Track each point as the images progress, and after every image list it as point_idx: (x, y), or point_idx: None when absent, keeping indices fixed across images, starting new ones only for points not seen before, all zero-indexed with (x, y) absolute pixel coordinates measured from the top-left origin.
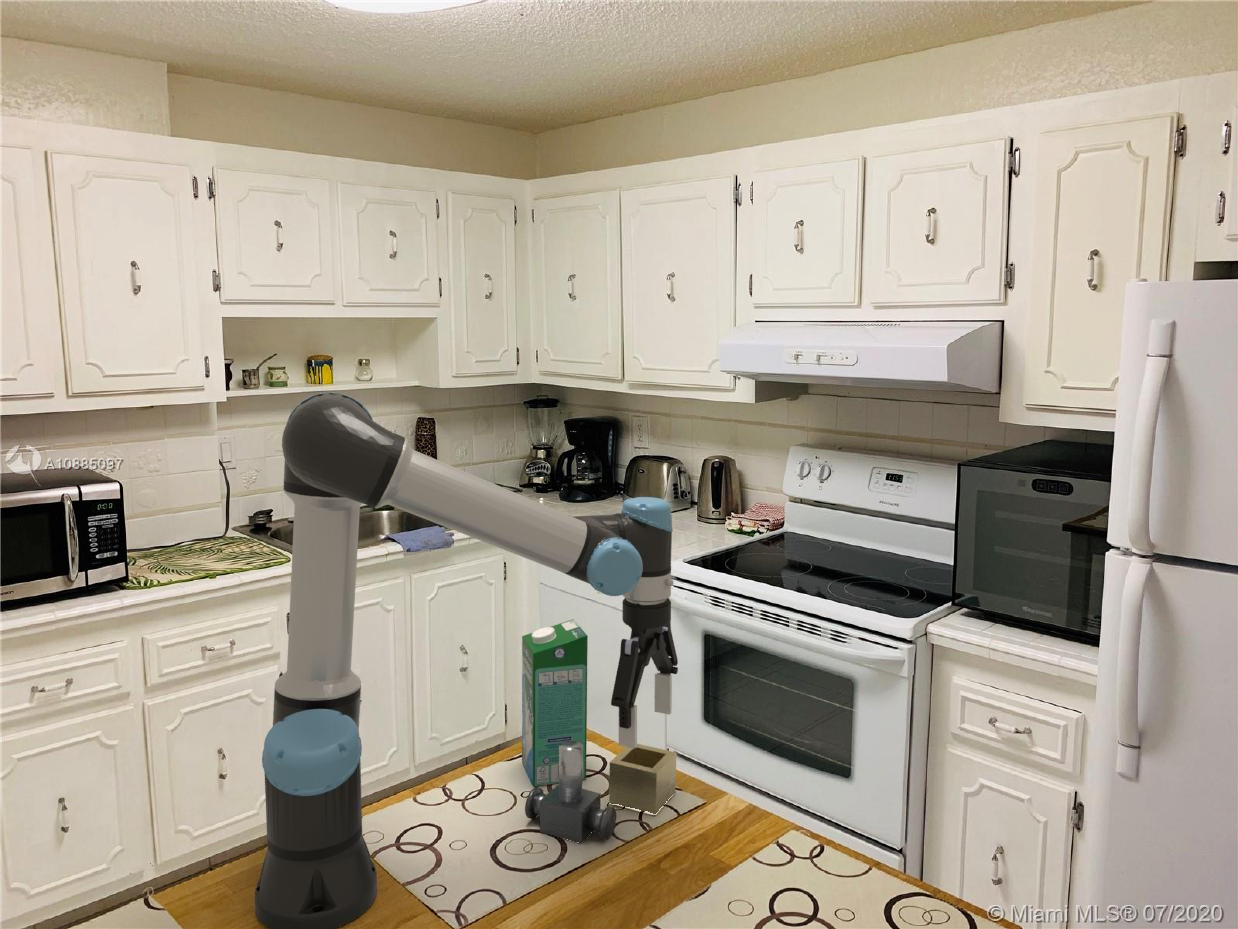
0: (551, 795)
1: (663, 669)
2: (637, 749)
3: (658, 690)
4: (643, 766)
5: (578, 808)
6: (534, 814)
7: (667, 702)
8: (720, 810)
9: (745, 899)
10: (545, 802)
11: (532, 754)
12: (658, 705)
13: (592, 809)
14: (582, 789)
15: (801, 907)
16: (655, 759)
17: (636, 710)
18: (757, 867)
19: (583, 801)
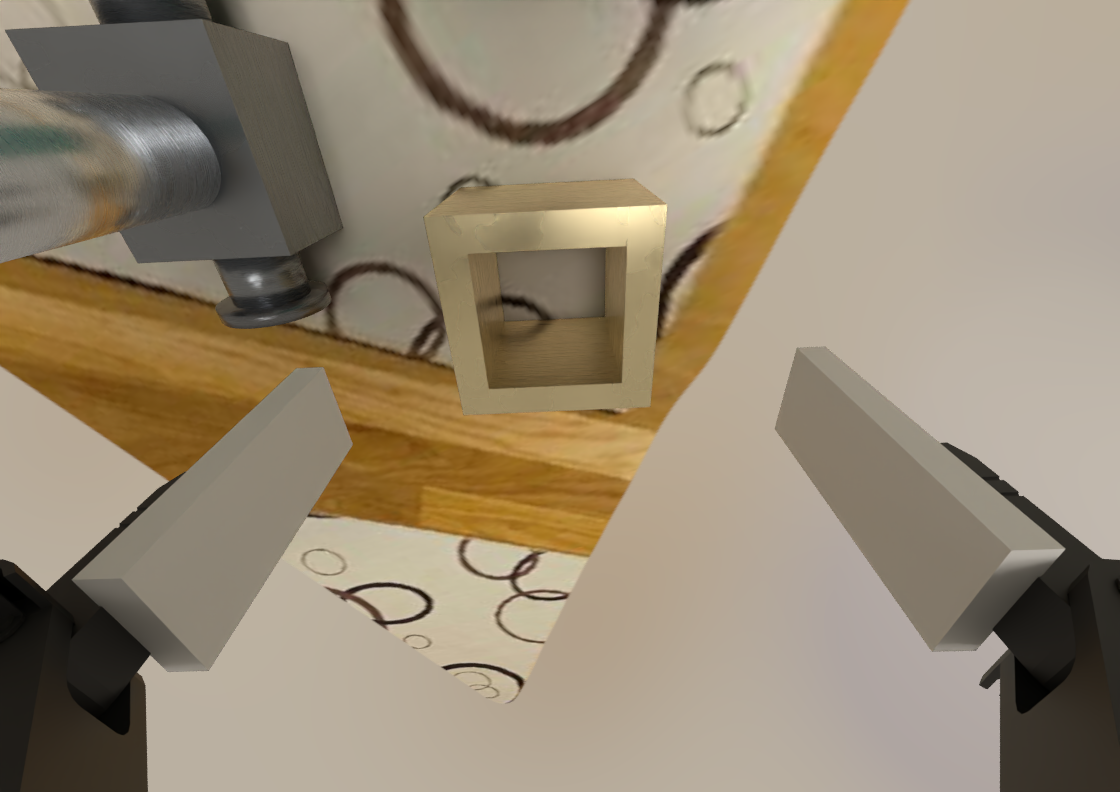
0: (87, 58)
1: (1063, 649)
2: (625, 257)
3: (875, 461)
4: (482, 357)
5: (140, 239)
6: None
7: (812, 462)
8: (597, 450)
9: (347, 562)
10: (29, 68)
11: None
12: (813, 393)
13: (227, 260)
14: (250, 170)
15: (390, 610)
16: (619, 328)
17: (222, 633)
18: (442, 551)
19: (190, 228)
